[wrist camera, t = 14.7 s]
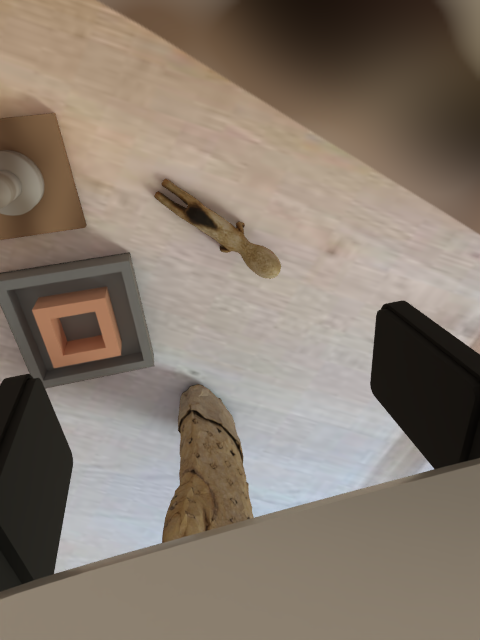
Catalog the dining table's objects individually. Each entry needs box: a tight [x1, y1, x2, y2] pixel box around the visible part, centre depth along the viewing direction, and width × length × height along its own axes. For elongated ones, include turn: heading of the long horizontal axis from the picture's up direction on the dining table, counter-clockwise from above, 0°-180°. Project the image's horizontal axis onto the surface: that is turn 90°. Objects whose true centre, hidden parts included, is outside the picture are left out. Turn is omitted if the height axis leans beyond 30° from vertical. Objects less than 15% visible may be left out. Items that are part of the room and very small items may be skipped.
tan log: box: [162, 384, 253, 543], centre depth 41 cm, size 14×10×30 cm
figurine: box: [154, 179, 281, 279], centre depth 42 cm, size 4×4×15 cm
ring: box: [32, 287, 122, 368], centre depth 43 cm, size 7×7×3 cm
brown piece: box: [0, 113, 86, 240], centre depth 34 cm, size 10×10×7 cm
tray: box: [0, 253, 154, 388], centre depth 43 cm, size 13×13×3 cm
